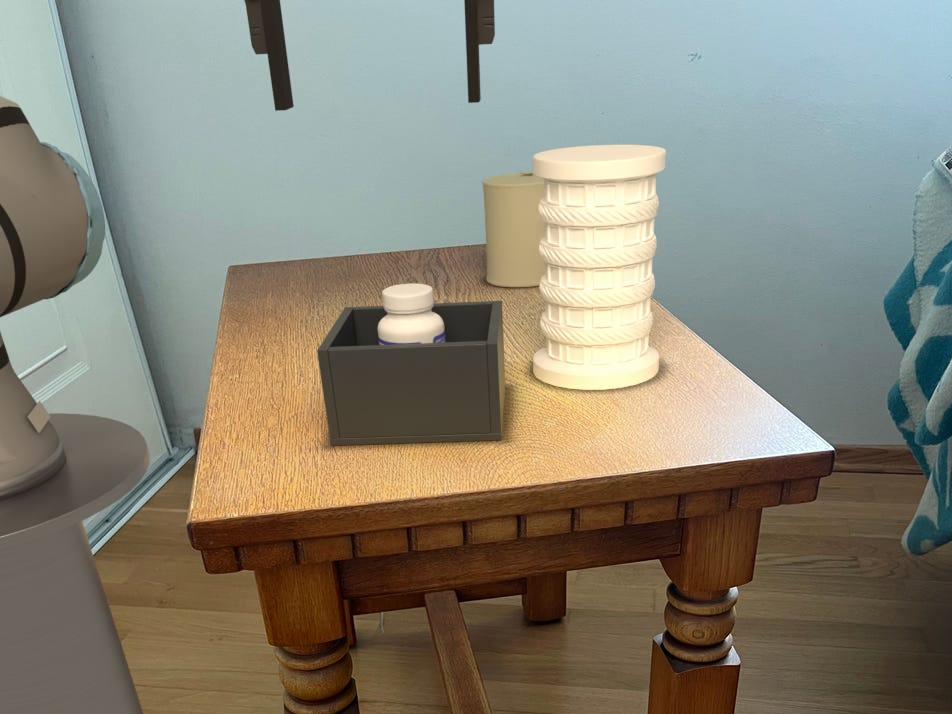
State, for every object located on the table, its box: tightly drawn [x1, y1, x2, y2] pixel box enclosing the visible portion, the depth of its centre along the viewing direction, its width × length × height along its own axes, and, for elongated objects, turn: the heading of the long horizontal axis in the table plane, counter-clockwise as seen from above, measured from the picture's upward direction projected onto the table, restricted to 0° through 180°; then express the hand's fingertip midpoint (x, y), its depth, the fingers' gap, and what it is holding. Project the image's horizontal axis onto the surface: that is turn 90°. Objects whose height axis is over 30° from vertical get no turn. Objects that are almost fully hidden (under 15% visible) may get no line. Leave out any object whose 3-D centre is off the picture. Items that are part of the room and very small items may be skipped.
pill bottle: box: [378, 282, 446, 345], centre depth 76 cm, size 5×5×10 cm
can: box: [482, 171, 545, 288], centre depth 115 cm, size 9×9×12 cm
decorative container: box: [532, 144, 667, 391], centre depth 82 cm, size 12×12×18 cm
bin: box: [316, 300, 506, 447], centre depth 77 cm, size 14×13×8 cm
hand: (379, 105), depth 67 cm, fingers open, 13 cm apart
